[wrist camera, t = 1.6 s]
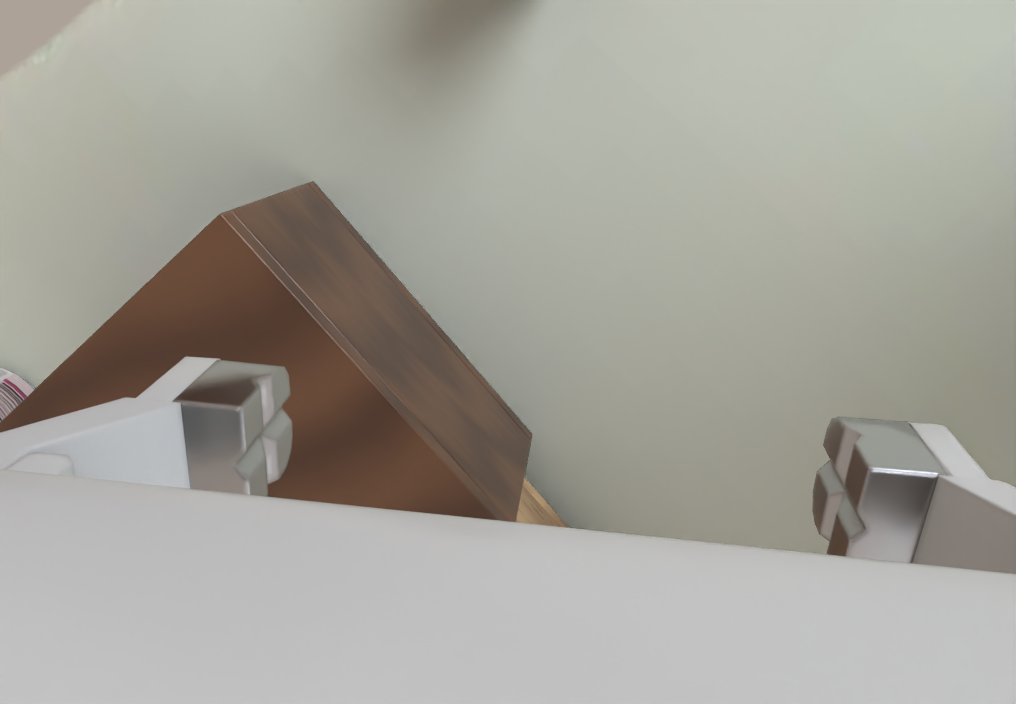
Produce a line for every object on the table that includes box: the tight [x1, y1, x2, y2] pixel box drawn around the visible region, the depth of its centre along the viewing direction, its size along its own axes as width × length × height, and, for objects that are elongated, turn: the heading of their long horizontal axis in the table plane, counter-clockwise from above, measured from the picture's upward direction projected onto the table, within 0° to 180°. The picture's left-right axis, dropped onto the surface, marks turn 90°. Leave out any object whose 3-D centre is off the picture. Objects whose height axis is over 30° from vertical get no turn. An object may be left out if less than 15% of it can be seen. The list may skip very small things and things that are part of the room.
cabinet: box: [0, 182, 532, 522], centre depth 36 cm, size 16×15×10 cm
